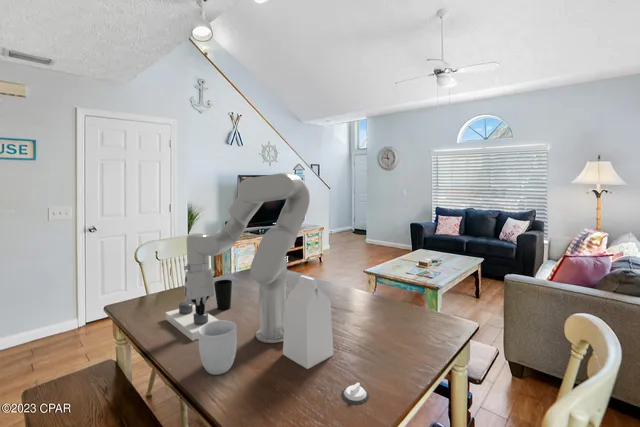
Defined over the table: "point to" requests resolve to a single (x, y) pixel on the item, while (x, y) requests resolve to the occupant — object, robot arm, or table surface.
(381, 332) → the table surface
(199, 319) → the knob near
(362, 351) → the table surface
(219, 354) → the mug
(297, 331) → the milk
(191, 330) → the mount
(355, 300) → the table surface
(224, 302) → the cup
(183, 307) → the knob far
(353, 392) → the stove knob
